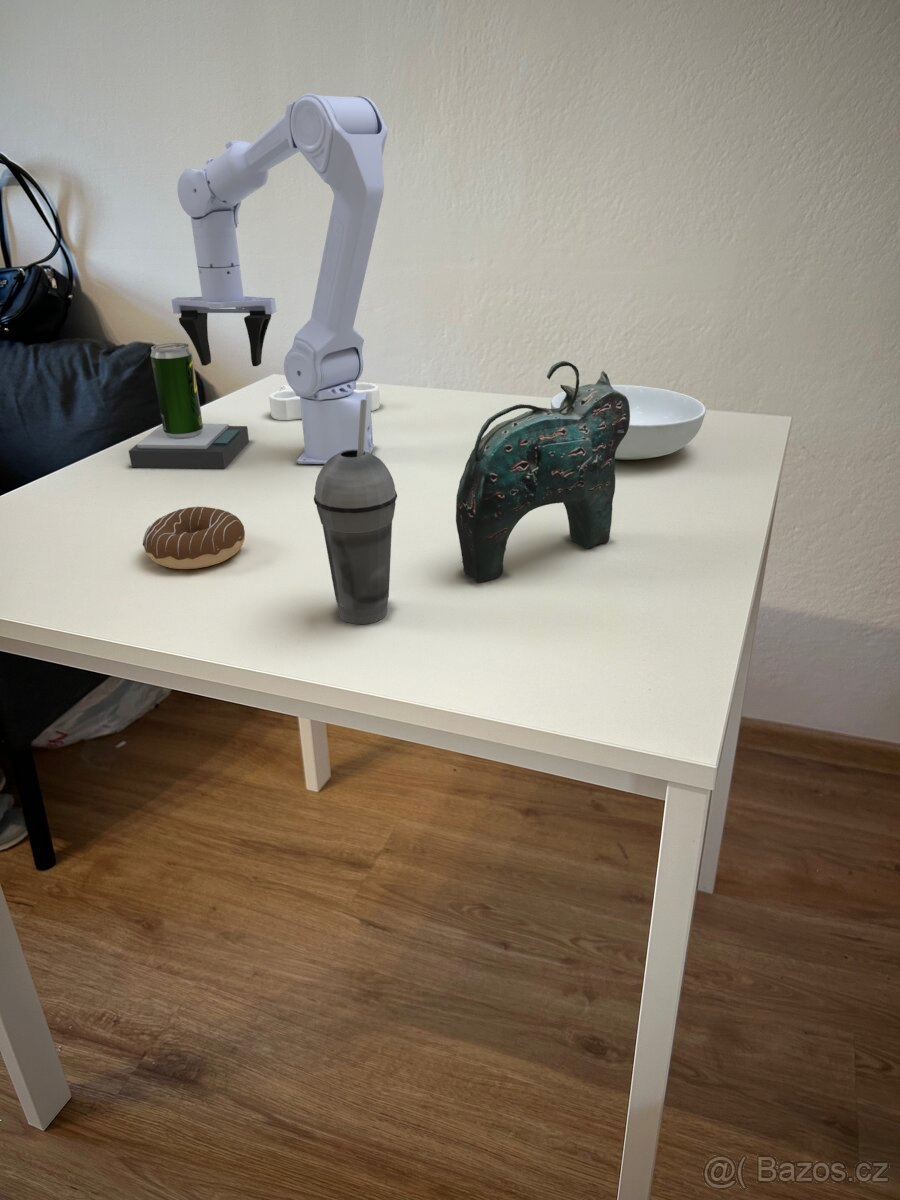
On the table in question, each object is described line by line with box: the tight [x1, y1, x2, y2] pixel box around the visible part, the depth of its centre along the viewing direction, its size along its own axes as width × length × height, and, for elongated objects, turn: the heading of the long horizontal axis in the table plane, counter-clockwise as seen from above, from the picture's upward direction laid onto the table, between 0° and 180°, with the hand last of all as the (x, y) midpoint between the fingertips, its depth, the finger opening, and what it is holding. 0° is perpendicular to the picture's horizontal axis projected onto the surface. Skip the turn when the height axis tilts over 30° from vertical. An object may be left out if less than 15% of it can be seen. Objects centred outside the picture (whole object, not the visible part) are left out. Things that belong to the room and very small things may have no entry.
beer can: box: [150, 342, 204, 439], centre depth 118 cm, size 5×5×12 cm
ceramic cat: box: [455, 360, 630, 584], centre depth 86 cm, size 20×6×20 cm, turn 124°
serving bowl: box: [550, 384, 707, 461], centre depth 120 cm, size 21×21×7 cm
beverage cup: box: [313, 399, 398, 625], centre depth 76 cm, size 7×7×20 cm
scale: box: [128, 423, 250, 470], centre depth 122 cm, size 13×12×3 cm
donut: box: [142, 506, 246, 570], centre depth 92 cm, size 11×11×4 cm
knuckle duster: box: [268, 382, 381, 421], centre depth 142 cm, size 3×18×15 cm
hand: (231, 364), depth 126 cm, fingers open, 7 cm apart
